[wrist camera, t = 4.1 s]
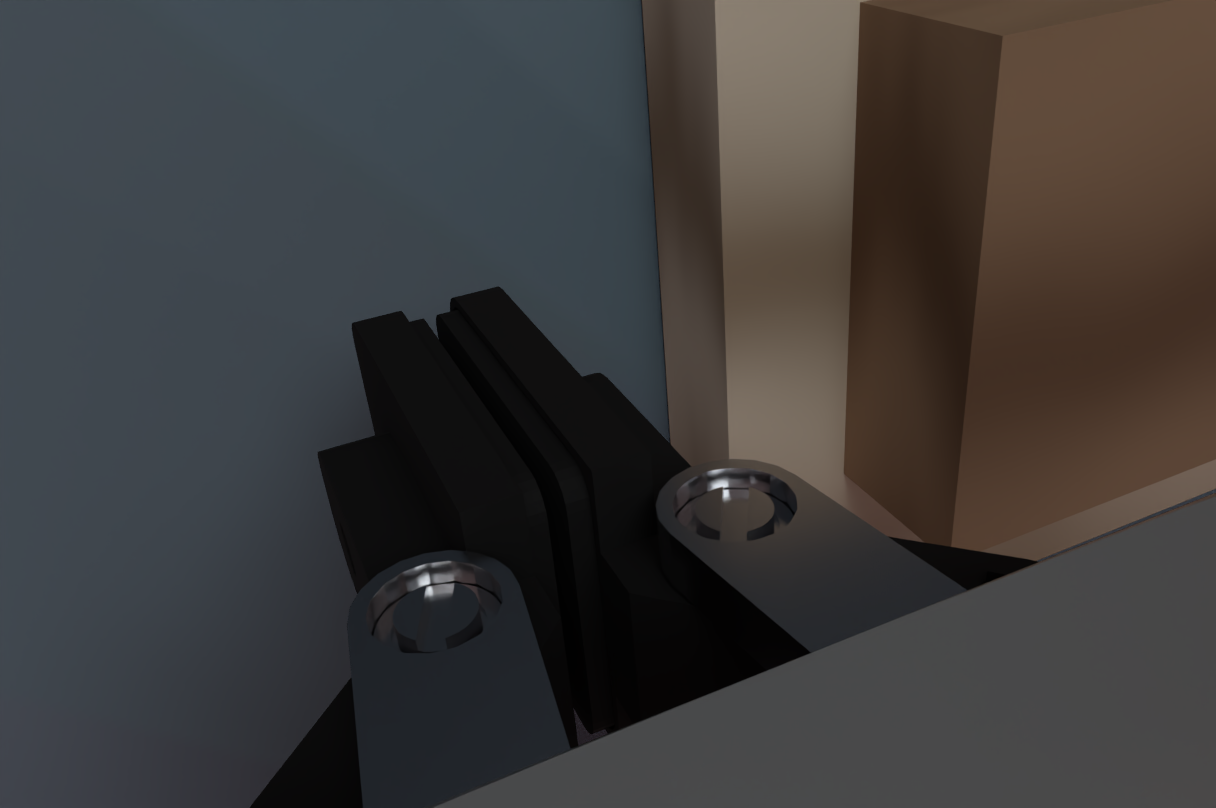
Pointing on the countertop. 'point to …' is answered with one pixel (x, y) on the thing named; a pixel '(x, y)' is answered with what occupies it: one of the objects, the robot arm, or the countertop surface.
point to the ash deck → (780, 249)
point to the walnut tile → (1030, 258)
